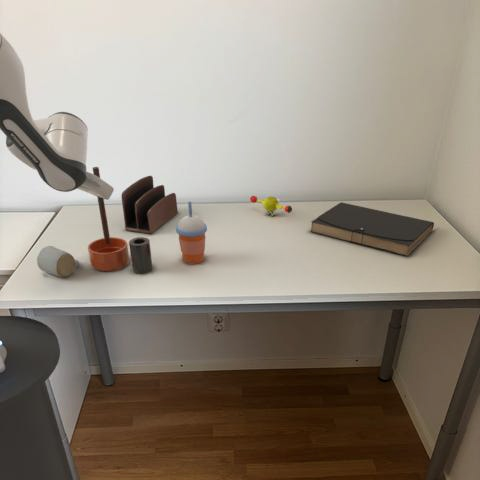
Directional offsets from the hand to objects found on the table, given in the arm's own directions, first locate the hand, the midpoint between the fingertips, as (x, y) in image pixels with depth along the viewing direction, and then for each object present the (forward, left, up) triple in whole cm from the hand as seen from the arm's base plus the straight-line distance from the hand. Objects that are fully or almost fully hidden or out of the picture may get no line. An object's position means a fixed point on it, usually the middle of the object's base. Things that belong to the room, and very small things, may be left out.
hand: (101, 195), depth 142 cm
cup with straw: (+12, -21, -21) cm, 32 cm away
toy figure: (+54, -28, -21) cm, 65 cm away
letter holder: (+31, +7, -21) cm, 38 cm away
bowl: (-1, 0, -21) cm, 21 cm away
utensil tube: (0, -11, -21) cm, 23 cm away
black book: (+55, -64, -21) cm, 87 cm away
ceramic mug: (-11, +10, -21) cm, 26 cm away
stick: (-1, 0, -14) cm, 14 cm away
